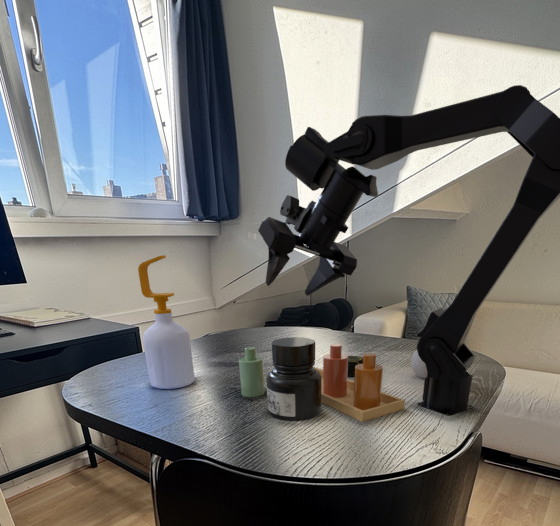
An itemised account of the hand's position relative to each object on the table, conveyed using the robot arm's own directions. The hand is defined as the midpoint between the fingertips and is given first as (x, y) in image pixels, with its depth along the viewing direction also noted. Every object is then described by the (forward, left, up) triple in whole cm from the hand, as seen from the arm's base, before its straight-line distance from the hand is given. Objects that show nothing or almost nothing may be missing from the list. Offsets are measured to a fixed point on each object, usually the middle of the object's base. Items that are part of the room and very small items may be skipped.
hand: (287, 289), depth 76 cm
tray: (-12, -2, -18) cm, 22 cm away
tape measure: (-2, -13, -18) cm, 23 cm away
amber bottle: (-20, -2, -18) cm, 27 cm away
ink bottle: (-14, +8, -18) cm, 25 cm away
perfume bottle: (-15, -25, -18) cm, 35 cm away
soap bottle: (+15, +20, -18) cm, 31 cm away
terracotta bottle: (-12, -2, -18) cm, 21 cm away
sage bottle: (-2, +10, -18) cm, 21 cm away
